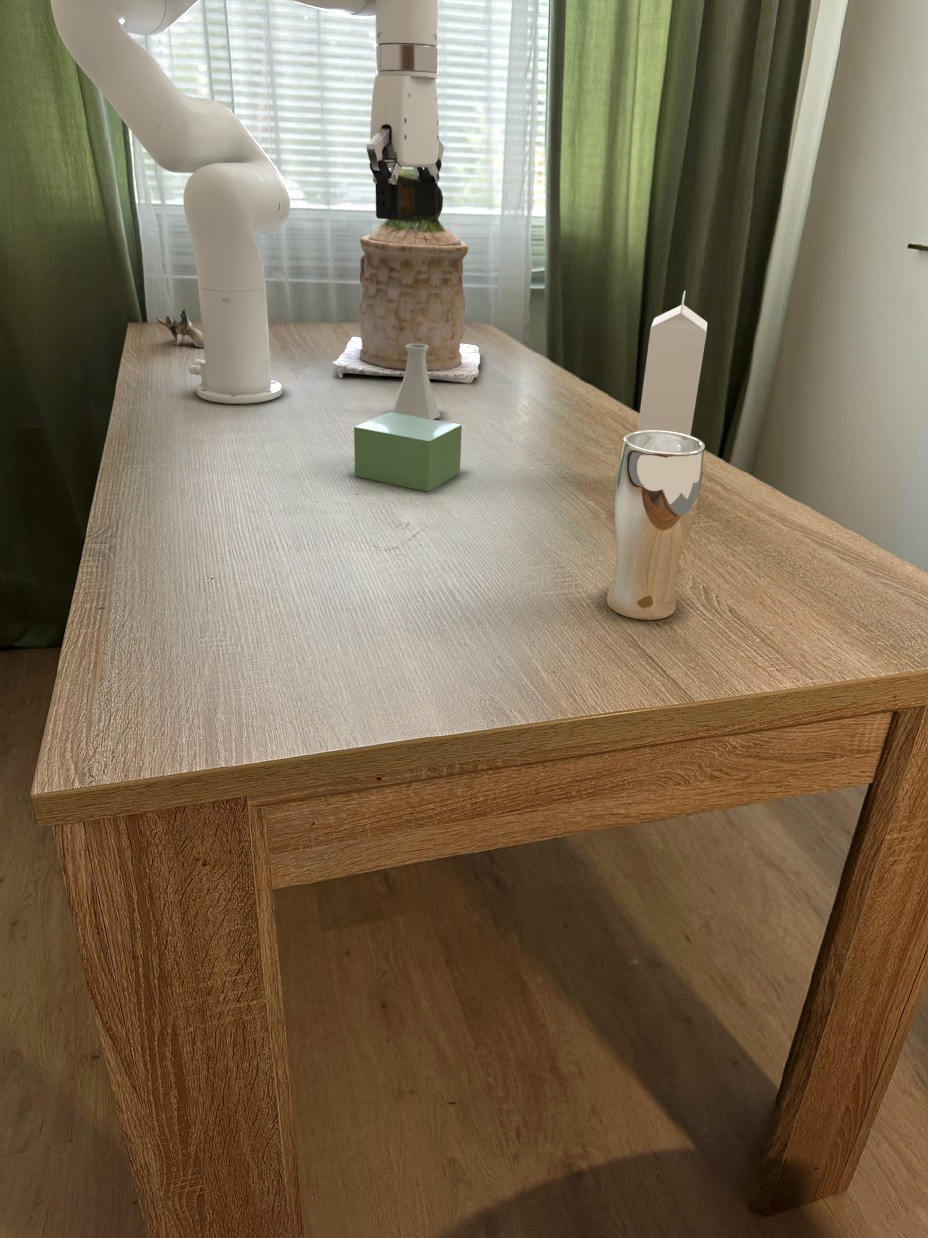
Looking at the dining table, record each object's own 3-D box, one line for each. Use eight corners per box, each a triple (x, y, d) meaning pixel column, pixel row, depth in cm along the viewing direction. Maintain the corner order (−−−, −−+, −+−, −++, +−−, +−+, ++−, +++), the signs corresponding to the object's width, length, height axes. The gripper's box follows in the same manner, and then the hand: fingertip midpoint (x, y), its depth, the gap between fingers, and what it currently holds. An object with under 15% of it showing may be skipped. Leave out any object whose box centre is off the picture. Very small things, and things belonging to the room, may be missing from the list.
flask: (434, 424, 130) (436, 352, 125) (385, 420, 131) (385, 348, 126) (445, 411, 136) (447, 342, 132) (398, 407, 137) (398, 338, 133)
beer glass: (594, 587, 85) (612, 428, 78) (667, 587, 86) (692, 429, 79) (611, 623, 79) (632, 453, 72) (690, 622, 79) (719, 454, 72)
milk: (629, 491, 109) (653, 296, 98) (633, 475, 114) (656, 288, 104) (681, 497, 108) (711, 300, 97) (683, 480, 113) (712, 291, 102)
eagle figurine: (149, 337, 168) (181, 335, 164) (159, 301, 169) (191, 297, 164) (182, 355, 175) (214, 353, 170) (191, 320, 176) (223, 317, 171)
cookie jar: (479, 385, 152) (490, 169, 137) (330, 378, 152) (324, 161, 137) (480, 353, 173) (489, 164, 158) (350, 347, 173) (346, 157, 158)
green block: (354, 476, 109) (353, 426, 107) (389, 458, 116) (389, 411, 113) (428, 492, 106) (429, 441, 103) (460, 473, 112) (461, 424, 109)
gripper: (415, 69, 121) (415, 211, 129) (341, 58, 107) (346, 218, 115) (466, 69, 118) (463, 214, 126) (396, 58, 104) (398, 222, 112)
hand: (407, 216), depth 120 cm, fingers open, 9 cm apart
